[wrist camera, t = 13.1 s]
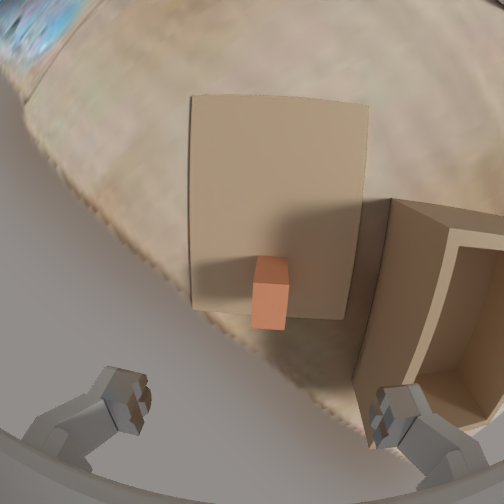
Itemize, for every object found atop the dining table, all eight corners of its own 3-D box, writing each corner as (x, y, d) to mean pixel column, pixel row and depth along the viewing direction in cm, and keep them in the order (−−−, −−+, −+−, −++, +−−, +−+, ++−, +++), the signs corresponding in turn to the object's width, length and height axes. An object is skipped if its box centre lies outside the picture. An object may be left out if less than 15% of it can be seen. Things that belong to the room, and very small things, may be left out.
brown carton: (391, 198, 19) (449, 228, 12) (506, 217, 18) (568, 246, 11) (351, 379, 24) (369, 448, 17) (456, 371, 24) (488, 424, 16)
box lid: (195, 97, 18) (169, 82, 13) (365, 107, 18) (393, 95, 13) (195, 304, 24) (175, 343, 19) (341, 314, 23) (355, 355, 18)
